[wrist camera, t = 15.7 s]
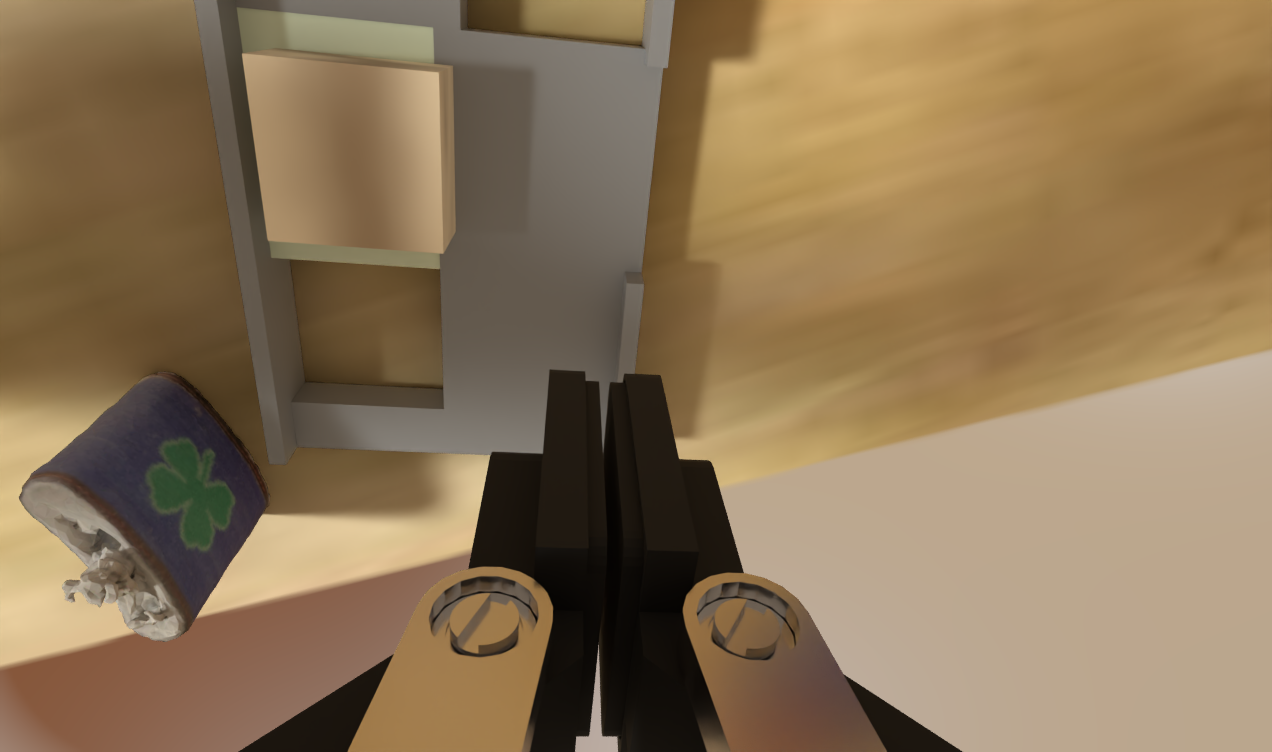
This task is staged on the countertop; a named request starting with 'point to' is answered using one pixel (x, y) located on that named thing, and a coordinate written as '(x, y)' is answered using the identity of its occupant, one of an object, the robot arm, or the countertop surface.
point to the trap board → (462, 221)
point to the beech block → (353, 149)
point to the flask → (151, 504)
